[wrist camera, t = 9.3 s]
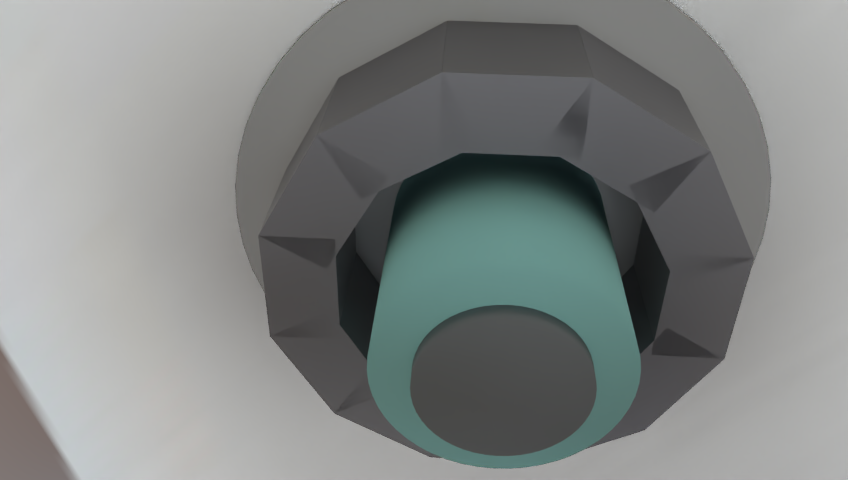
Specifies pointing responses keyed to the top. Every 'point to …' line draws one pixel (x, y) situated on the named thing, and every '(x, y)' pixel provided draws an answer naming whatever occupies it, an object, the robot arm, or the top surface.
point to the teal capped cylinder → (502, 313)
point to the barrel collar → (510, 135)
